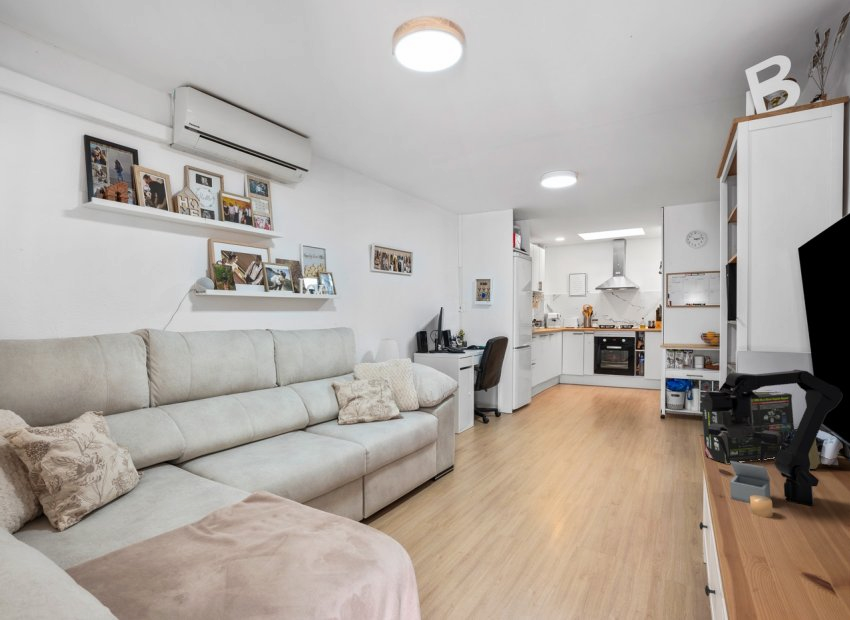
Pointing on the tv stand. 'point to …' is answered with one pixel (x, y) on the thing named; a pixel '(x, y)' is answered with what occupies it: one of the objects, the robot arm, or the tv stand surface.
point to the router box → (767, 415)
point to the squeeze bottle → (814, 456)
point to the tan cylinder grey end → (761, 506)
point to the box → (748, 488)
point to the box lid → (750, 470)
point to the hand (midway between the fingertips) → (744, 459)
